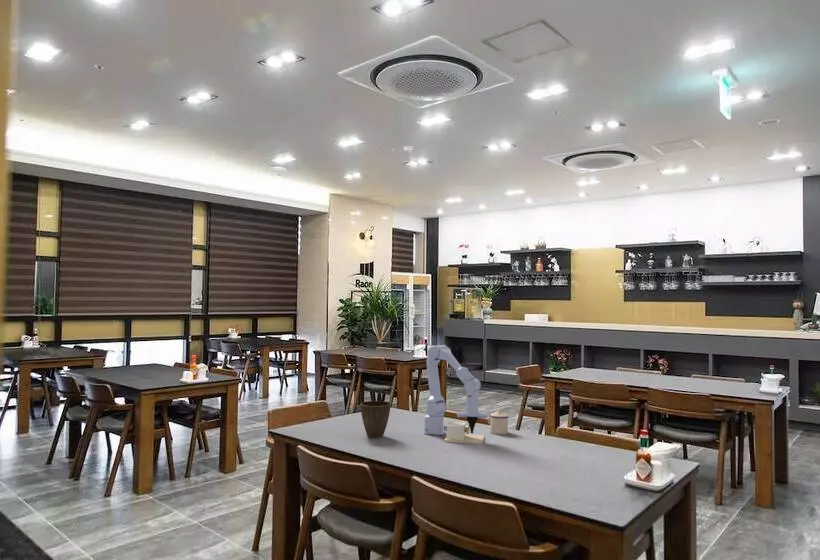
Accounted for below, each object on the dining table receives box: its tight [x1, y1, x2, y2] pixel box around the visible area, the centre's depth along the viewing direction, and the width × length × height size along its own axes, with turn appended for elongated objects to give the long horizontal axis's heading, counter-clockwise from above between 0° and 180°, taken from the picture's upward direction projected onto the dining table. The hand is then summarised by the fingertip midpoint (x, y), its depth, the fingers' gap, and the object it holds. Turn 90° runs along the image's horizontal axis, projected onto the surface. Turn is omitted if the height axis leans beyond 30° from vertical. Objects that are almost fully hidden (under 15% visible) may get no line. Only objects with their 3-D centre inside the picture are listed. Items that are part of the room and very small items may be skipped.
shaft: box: [443, 425, 470, 434], centre depth 275 cm, size 12×4×4 cm, turn 80°
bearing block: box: [443, 421, 485, 445], centre depth 274 cm, size 18×14×7 cm
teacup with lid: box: [487, 409, 509, 436], centre depth 292 cm, size 12×9×12 cm
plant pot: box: [359, 400, 392, 439], centre depth 277 cm, size 15×15×16 cm
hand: (472, 432), depth 274 cm, fingers closed
